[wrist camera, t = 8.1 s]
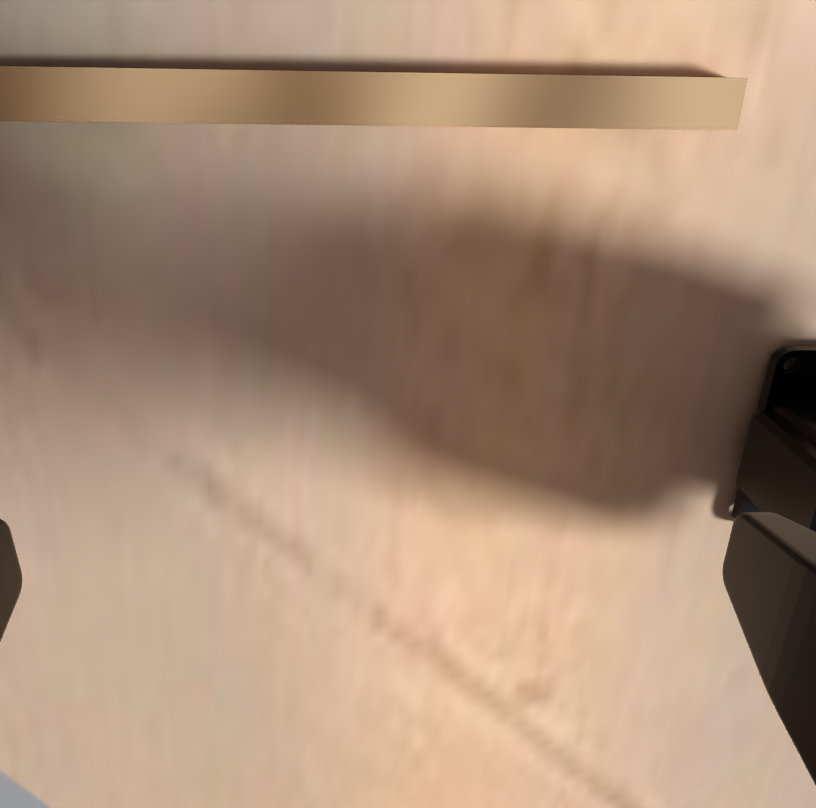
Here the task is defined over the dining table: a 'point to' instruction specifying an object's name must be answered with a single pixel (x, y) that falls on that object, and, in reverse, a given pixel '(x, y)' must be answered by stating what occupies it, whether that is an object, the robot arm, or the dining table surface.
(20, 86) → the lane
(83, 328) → the dining table surface
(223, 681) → the dining table surface
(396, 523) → the dining table surface
